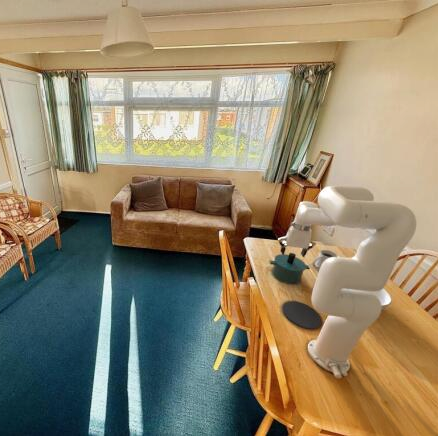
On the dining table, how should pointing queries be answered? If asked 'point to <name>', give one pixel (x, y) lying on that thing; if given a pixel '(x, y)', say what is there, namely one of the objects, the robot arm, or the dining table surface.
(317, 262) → the mug
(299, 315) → the mat
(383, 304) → the serving bowl
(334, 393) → the dining table surface
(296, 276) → the pot
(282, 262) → the lid
